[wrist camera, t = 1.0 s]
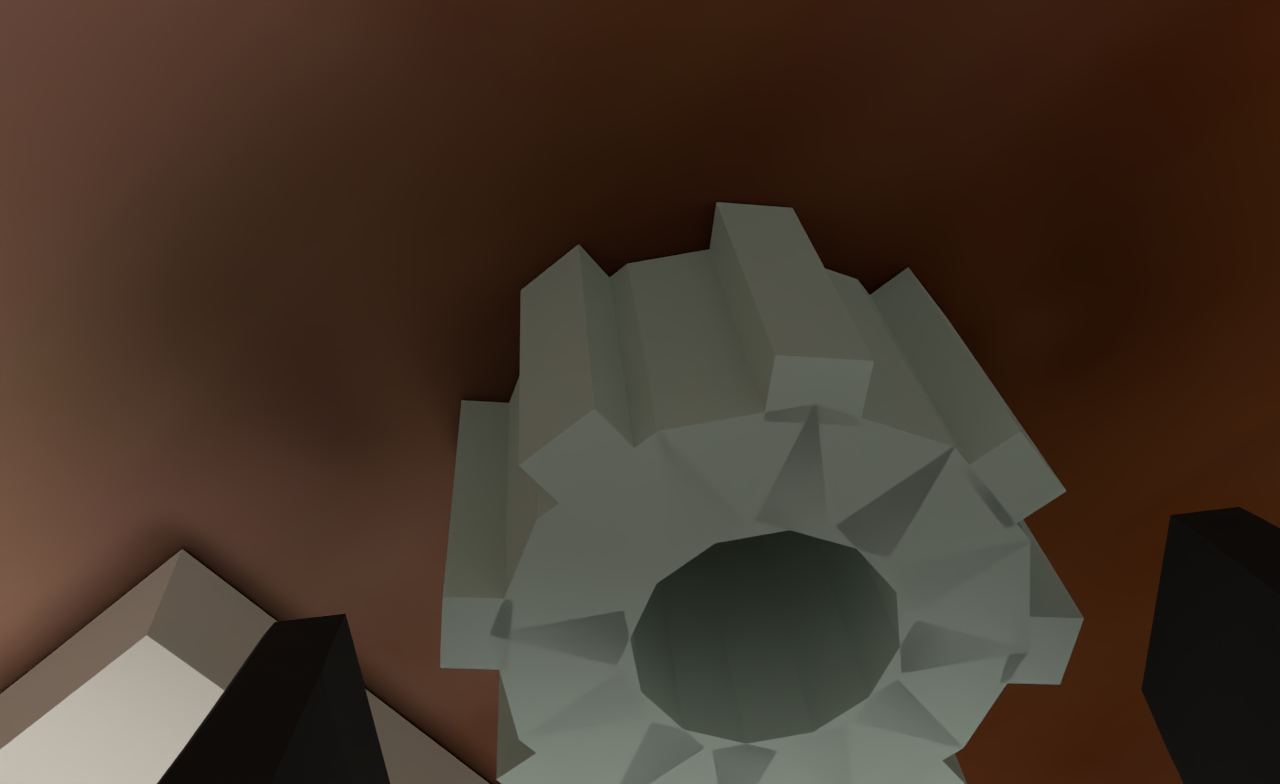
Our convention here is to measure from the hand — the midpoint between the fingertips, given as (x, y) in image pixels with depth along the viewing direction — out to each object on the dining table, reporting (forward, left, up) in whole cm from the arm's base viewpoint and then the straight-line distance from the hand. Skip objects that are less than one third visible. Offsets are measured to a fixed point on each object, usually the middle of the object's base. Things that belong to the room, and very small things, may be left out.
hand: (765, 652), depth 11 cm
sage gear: (0, 0, -4) cm, 4 cm away
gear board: (-4, +14, -4) cm, 15 cm away
